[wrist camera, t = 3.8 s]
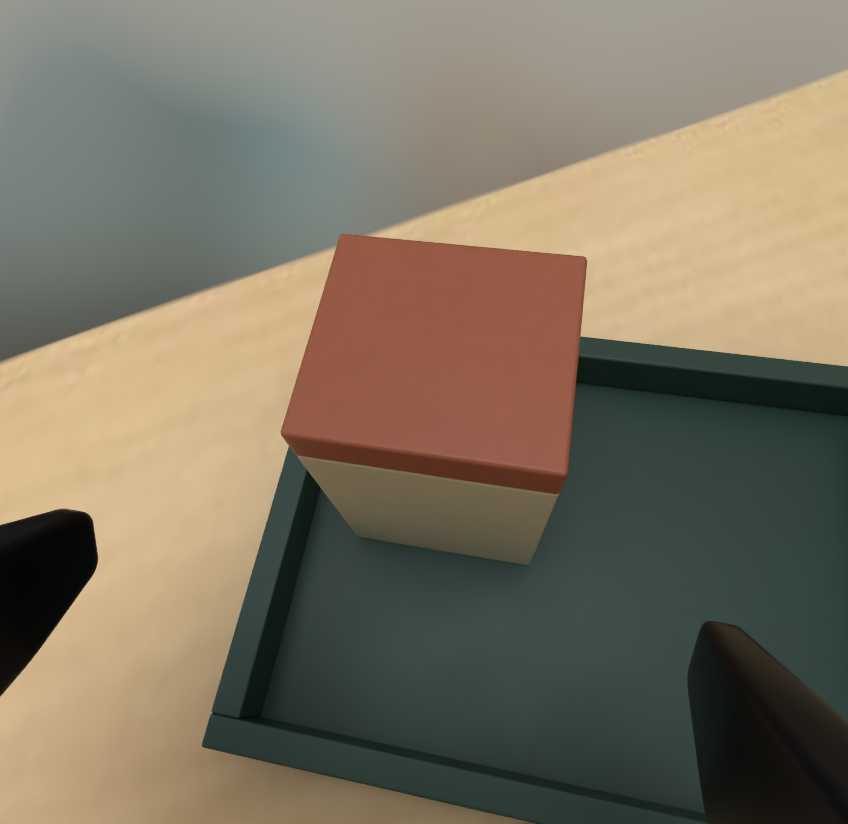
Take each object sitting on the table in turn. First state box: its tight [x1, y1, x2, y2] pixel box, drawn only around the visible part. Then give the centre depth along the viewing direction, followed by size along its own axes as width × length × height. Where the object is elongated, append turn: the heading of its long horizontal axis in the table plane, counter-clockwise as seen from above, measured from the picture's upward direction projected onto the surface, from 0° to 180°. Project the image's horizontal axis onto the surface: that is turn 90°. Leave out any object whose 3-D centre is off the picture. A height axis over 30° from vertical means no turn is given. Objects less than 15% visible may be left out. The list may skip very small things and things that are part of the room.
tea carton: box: [281, 234, 587, 565], centre depth 16 cm, size 5×6×8 cm
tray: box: [202, 337, 848, 824], centre depth 18 cm, size 14×19×2 cm
